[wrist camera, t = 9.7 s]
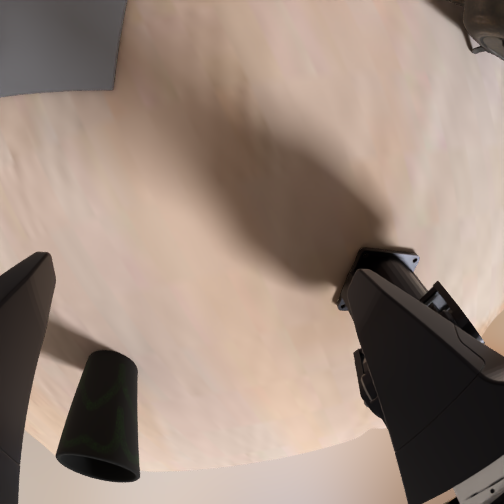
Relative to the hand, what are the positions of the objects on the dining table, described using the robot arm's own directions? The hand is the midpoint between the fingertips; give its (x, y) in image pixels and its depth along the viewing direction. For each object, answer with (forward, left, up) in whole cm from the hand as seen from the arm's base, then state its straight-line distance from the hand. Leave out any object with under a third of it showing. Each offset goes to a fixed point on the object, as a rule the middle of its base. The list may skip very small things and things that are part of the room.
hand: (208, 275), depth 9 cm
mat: (+12, -9, -13) cm, 20 cm away
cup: (+8, +23, -13) cm, 28 cm away
